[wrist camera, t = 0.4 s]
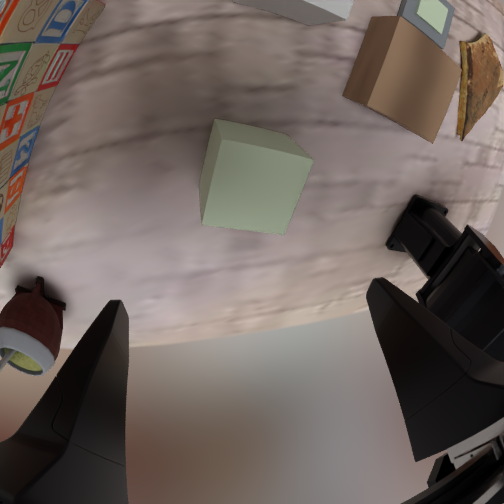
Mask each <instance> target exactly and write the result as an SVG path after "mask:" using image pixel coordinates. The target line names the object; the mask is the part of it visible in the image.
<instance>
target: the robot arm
mask: <svg viewBox="0 0 504 504" xmlns="http://www.w3.org/2000/svg"><path fill="white" fill-rule="evenodd" d="M447 213H448V209H447V208H446V207H445V206H442V205H440V204H438V203H435V202H433V201H431V200H428V199H426V198H424V197H421V196H419V195H415V196H414V197H413V198H412V200H411V202H410V204H409V206H408V207H407V209H406V211H405V213H404V215H403V216H402V218H401V220H400V222H399V223H398V225H397V227H396V229H395V230H394V232H393V234H392V235H391V237H390V239H389V240H388V242H387V244H386V246H387V248H388V249H389V250H395V251H401V252H407V253H408V254H409V256H410V257H411V258H412V259H413V261H414V262H415V263H416V264H417V266H418V267H419V268H420V270H421V271H422V272H423V273H424V275H425V276H426V277H427V279H428V281H427V282H426V283H425V285H424V286H423V287H422V288H421V289H420V290H419V291H418V292H417V293H416V296H417V299H418V301H419V303H418V302H417V301H415V300H414V299H413V298H411V297H410V296H409V295H407V294H406V293H404V292H403V291H402V290H400V289H399V288H398V287H396V286H395V285H393V284H392V283H391V282H389V281H388V280H386V279H385V278H383V277H380V278H374V279H373V280H372V282H371V284H370V286H369V289H368V291H367V293H366V299H367V303H368V306H369V310H370V313H371V317H372V321H373V324H374V328H375V331H376V334H377V337H378V340H379V343H380V346H381V348H382V351H383V354H384V357H385V360H386V362H387V365H388V368H389V371H390V374H391V377H392V380H393V383H394V386H395V389H396V393H397V396H398V399H399V403H400V406H401V409H402V413H403V416H404V419H405V424H406V428H407V431H408V435H409V439H410V443H411V447H412V451H413V455H414V459H415V462H417V461H420V460H422V459H425V458H427V457H430V456H432V455H434V454H437V453H439V452H441V451H444V450H447V453H445V454H444V455H442V456H440V457H439V458H437V459H436V461H435V463H434V466H433V469H432V471H431V474H430V476H429V479H428V481H427V484H428V487H429V488H428V489H426V490H424V491H423V492H421V493H419V494H418V495H416V496H414V497H412V498H411V499H409V500H407V501H405V502H403V503H401V504H503V503H504V258H503V257H502V255H501V254H500V253H499V251H498V250H497V249H496V247H495V246H494V245H493V244H492V243H491V242H490V241H489V240H488V239H487V238H486V237H485V236H484V235H483V234H481V233H480V232H478V231H477V230H475V229H474V228H472V227H471V226H469V225H468V224H467V225H466V227H465V228H464V229H465V230H464V232H463V233H461V232H460V231H459V230H458V229H457V228H456V227H455V226H454V225H453V224H452V223H451V222H450V221H449V220H448V219H447V218H446V217H445V216H446V214H447ZM480 248H481V250H480V251H479V252H478V250H479V249H480ZM128 367H129V318H128V314H127V312H126V309H125V307H124V304H123V302H122V301H121V300H110V301H109V302H108V303H107V304H106V306H105V307H104V308H103V309H102V311H101V312H100V313H99V315H98V316H97V317H96V319H95V320H94V322H93V323H92V324H91V326H90V327H89V328H88V330H87V331H86V333H85V334H84V335H83V337H82V338H81V340H80V341H79V342H78V344H77V345H76V347H75V348H74V350H73V351H72V353H71V354H70V356H69V357H68V358H67V360H66V362H65V363H64V364H63V366H62V368H61V369H60V370H59V372H58V373H57V377H55V378H54V380H53V381H52V383H51V384H50V386H49V388H48V389H47V390H46V392H45V393H44V395H43V396H42V398H41V399H40V401H39V402H38V403H37V405H36V406H35V407H34V409H33V410H32V411H31V413H30V414H29V416H28V417H27V418H26V420H25V421H24V422H23V424H22V425H21V427H20V428H19V429H18V431H17V432H16V433H15V434H14V435H12V436H11V437H10V438H8V439H6V440H4V441H2V442H0V504H128V495H127V479H126V457H125V421H126V419H125V418H126V395H127V394H126V393H127V378H128Z"/></svg>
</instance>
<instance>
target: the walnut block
mask: <svg viewBox="0 0 504 504" xmlns="http://www.w3.org/2000/svg"><path fill="white" fill-rule="evenodd" d="M461 71H462V69H461V68H460V67H459V66H458V65H457V64H456V63H455V62H454V61H453V60H452V59H451V58H450V57H449V56H448V55H447V54H446V53H445V52H443V51H442V50H441V49H440V48H439V47H438V46H437V45H436V44H435V43H433V42H432V41H431V40H430V39H429V38H428V37H426V36H425V35H424V34H423V33H422V32H420V31H419V30H418V29H417V28H415V27H414V26H413V25H412V24H410V23H409V22H408V21H406V20H405V19H404V18H402V17H401V16H381V17H372V18H371V21H370V24H369V26H368V29H367V32H366V35H365V37H364V40H363V43H362V45H361V48H360V51H359V53H358V56H357V59H356V61H355V64H354V67H353V69H352V72H351V75H350V77H349V80H348V82H347V85H346V88H345V90H344V93H343V95H342V96H344V97H346V98H348V99H351V100H353V101H355V102H357V103H359V104H361V105H363V106H365V107H367V108H369V109H371V110H373V111H375V112H377V113H379V114H381V115H383V116H385V117H387V118H388V119H390V120H392V121H394V122H396V123H397V124H399V125H401V126H403V127H404V128H406V129H408V130H409V131H411V132H413V133H415V134H417V135H419V136H420V137H422V138H424V139H426V140H427V141H429V142H431V143H432V144H433V142H434V140H435V138H436V136H437V133H438V131H439V129H440V127H441V124H442V122H443V119H444V117H445V115H446V112H447V110H448V107H449V105H450V102H451V99H452V97H453V94H454V91H455V89H456V86H457V83H458V80H459V77H460V74H461Z"/></svg>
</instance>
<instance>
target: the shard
mask: <svg viewBox="0 0 504 504" xmlns="http://www.w3.org/2000/svg"><path fill="white" fill-rule="evenodd" d="M460 49H461V57H462V79H461V86H460V99H459V109H458V125H457V132H458V135H460V139H461V141H463V139H464V137H465V136H466V135H467V134H468V133H469V132H470V130H471V129H472V128H473V126H474V124H475V123H476V122H477V121H478V120H479V119H480V118H481V117H482V116H483V115H484V114H485V112H486V111H487V109H488V108H489V107H490V106H491V104H492V103H493V102H494V100H495V99H496V97H497V96H498V94H499V92H500V90H501V89H502V87H503V70H502V67H501V64H500V61H499V59H498V56H497V54H496V51H495V49H494V46H493V43H492V41H491V39H490V37H489V36H488V35H487V34H486V33H484V34H483V36H482V37H481V38H480V39H479V40H477V41H476V42H473V43H468V42H460Z"/></svg>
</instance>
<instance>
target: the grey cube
mask: <svg viewBox="0 0 504 504" xmlns="http://www.w3.org/2000/svg"><path fill="white" fill-rule="evenodd" d="M233 2H234V3H239V4H243V5H247V6H251V7H255V8H258V9H262V10H265V11H268V12H272V13H275V14H278V15H281V16H284V17H287V18H290V19H293V20H295V21H298V22H301V23H303V24H306V25H308V26H311V25H317V24H323V23H329V22H336V21H344V20H347V19H348V16H349V13H350V10H351V8H352V5H353V2H354V0H234V1H233Z"/></svg>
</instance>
